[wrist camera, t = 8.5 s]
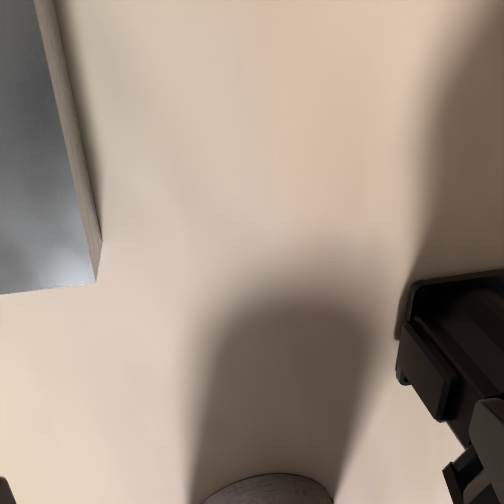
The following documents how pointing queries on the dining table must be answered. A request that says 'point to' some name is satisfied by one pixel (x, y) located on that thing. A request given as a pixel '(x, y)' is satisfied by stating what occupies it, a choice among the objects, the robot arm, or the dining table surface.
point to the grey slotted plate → (41, 159)
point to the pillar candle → (272, 491)
